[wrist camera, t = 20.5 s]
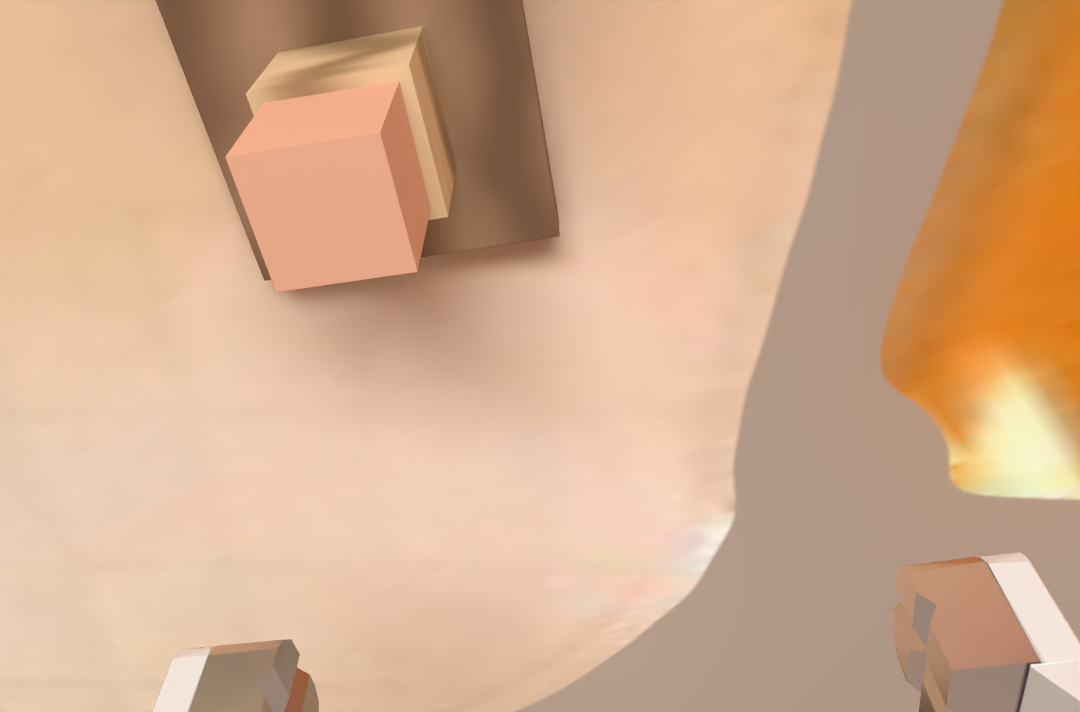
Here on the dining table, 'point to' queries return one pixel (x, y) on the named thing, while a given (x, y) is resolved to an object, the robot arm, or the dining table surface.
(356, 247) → the terracotta block
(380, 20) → the base board
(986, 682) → the robot arm
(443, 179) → the oak block
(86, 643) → the dining table surface
